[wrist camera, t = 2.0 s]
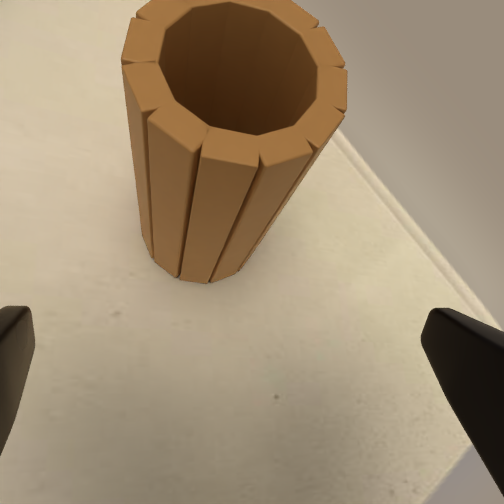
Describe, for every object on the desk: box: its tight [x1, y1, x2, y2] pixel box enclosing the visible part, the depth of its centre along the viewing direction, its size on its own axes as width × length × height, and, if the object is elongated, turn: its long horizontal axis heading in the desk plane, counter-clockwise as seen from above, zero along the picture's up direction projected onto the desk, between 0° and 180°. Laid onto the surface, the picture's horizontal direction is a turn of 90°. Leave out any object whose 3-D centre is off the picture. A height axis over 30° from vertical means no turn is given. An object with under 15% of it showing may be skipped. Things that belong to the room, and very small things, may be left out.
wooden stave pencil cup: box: [121, 0, 347, 284], centre depth 18 cm, size 7×7×13 cm
